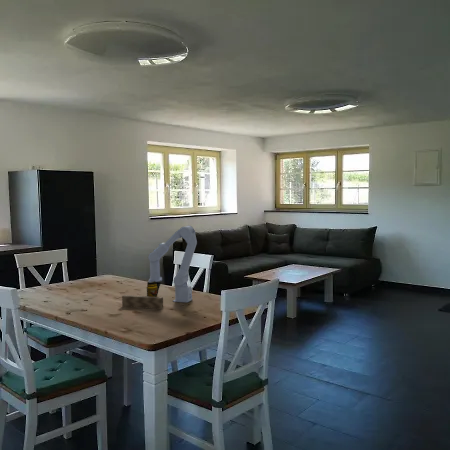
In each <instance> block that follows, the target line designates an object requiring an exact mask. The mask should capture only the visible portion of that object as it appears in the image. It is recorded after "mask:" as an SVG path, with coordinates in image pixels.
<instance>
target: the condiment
mask: <svg viewBox="0 0 450 450" xmlns="http://www.w3.org/2000/svg"><path fill="white" fill-rule="evenodd" d="M156 285H157V284H156V281H154V282H151V283H150V281H149V280H148V281H147V286H146V296H149V297H158V295H157V286H156Z"/></svg>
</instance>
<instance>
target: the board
mask: <svg viewBox="0 0 450 450" xmlns="http://www.w3.org/2000/svg"><path fill="white" fill-rule="evenodd" d="M121 297H122V298H121V301H122V302H121V303H122V304H121V305H122V307H123V308H124V307H125V308H136V309H137V308H141V309H151V310H152V309H154V310H163V309H164V297H163V296H162V297H161V296H157V297H149V296H147V295H146V296H144V295H132V294H131V295H129V294H123V295H121Z"/></svg>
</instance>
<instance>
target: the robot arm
mask: <svg viewBox="0 0 450 450" xmlns="http://www.w3.org/2000/svg"><path fill="white" fill-rule="evenodd" d="M196 235H197V234H196V230H195V229H194V227H193V226H192V225H186V226H185V225H184V226H182V227H180V228H179V229H177V230H176V231H175V232H174V233H173V234H172V235H171V236H170V238H168V239H167V240H166V241H165V242H161V243H159V244H158V246H157V247H156V248H155V249H153V251H152V252H150V253H149V254H148V257H147V258H148V261H149V279H148V282H149V281H150V283H151V282H154V281H156V284H157V285H156V286H157V296H158V295H159V290H160V286H161V285H162V281H163V277H162V276H161V269H160V268H161V267H160V266H161V265H160V264H161V263H160V260H161V258H162V257H163V256H164V255H166V254H167V253H168V251H169V250H170V246H172V245H173V244H174V243H175V242H176V241H177V240H179V239H181V238H182V239H184V240H185V243H186V248H185V250H184V253H183V258H182V259H181V264H180V267H179V270H178V271H177V273H176V276H175V277H174V278H173V280H172V281H173V284H174V298H175V299H173V300H172V302H175V303H189V302H190V301H192V300H193V289H192V286H189V285H188V281H189V273H190V271H189V269H190V266H191V263H192V260H193V257H194V254H195V253H194V252H195V250H196V247H197V245H198V241H197V237H196Z"/></svg>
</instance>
